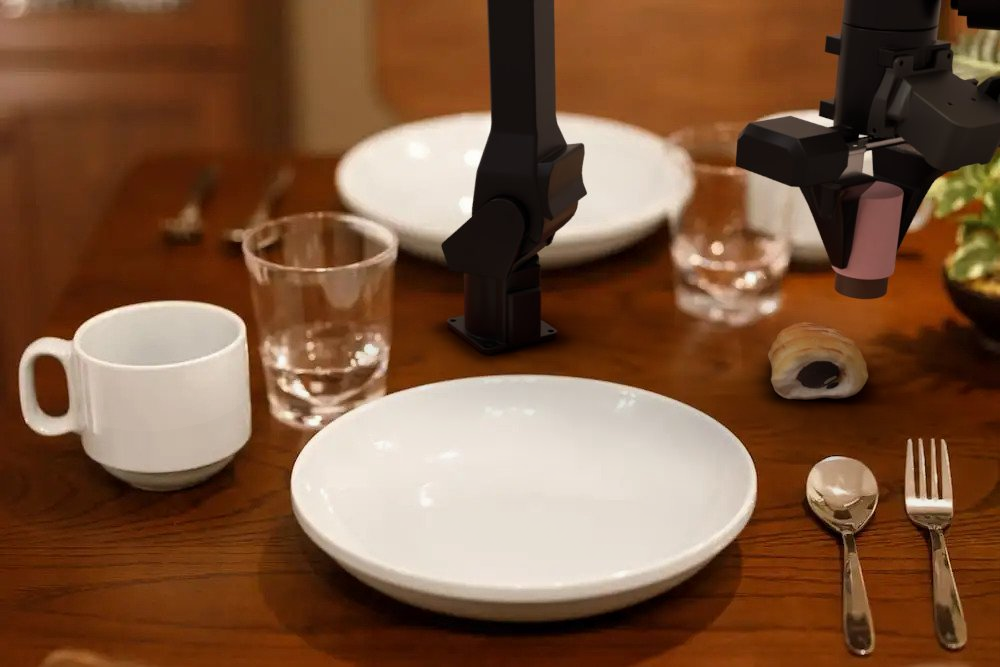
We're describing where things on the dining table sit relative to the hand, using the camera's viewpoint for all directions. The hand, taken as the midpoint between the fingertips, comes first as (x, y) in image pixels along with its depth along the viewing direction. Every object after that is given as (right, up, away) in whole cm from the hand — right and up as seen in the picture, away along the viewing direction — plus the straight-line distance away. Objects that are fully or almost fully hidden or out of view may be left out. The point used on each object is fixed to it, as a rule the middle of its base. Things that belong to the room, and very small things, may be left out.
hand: (862, 261), depth 86 cm
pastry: (-2, -8, +7) cm, 11 cm away
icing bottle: (0, -2, +1) cm, 2 cm away
